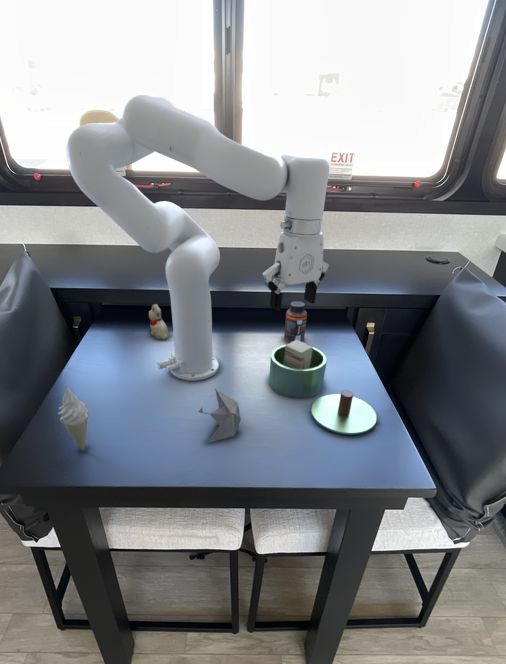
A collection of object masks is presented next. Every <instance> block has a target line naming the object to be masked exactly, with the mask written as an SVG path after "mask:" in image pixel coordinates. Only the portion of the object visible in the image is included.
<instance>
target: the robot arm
mask: <svg viewBox="0 0 506 664" xmlns="http://www.w3.org/2000/svg"><path fill="white" fill-rule="evenodd" d="M153 153H156V154H157V153H158V154H160V155H163V156H165V157H167V158H170V159H172V160H174V161H177V162H178V163H181V164H183V165H186V166H188V167H190V168H192V169H195V170H196V171H197V172H198V173H200V174H201V175H203V176H206V177H207V178H209V179H210V180H212V181H214V182H215V183H217V184H219V185H220V186H222V187H225V188H226V189H229V190H231V191H234V192H236V193H238V194H241V195H243V196H245V197H248V198H251V199H252V200H253V199H254V200H257V201H269V200H272V199H273V198H275V197H277V196H278V195H279V194H286V201H285V209H284V220H283V221H280V224H279V226H280V229H282V231H281V232H280V235H279V238H278V242H277V245H276V251H275V257H274V262H273V263H274V264H273V265H272V266H270V267H269V268H267V269H266V270H264V271H263V272H262V274H261V275H262V279H263V281H264V285H265V286H266V287H267V288H268V290H269V291H270V298H269V307H270V308H271V309H273V310H275V311H277V312H280V311H281V310H282V304H283V303H282V301H283V293H282V290H283V289H284V288H285V286H295V285H300V284H305V287H304V295H303V296H304V297H303V300H304V301H306V302H308V303H310V304H312V305H313V304H315V303H316V297H317V291H318V287H319V286H321V282H322V280H323V279H324V278H325V276H326V273H327V271H328V269H329V267H330V264H329V263H328V262H326V261H324V249H325V248H324V243H325V242H324V233H323V232H321V230H322V224H323V216H324V211H325V210H324V209H325V203H326V196H327V190H328V184H329V183H328V182H329V177H330V176H329V175H330V168H331V167H330V166H331V165H330V162H329V160H328V159H327V158H324V157H322V156H313V155H299V156H296V155H290V154H285V153H281V152H277V151H267V152H264V153H262V152H260V151H257V150H254V149H252V148H251V147H248V146H246V145H243V144H241V143H239V142H237V141H234V140H233V139H231V138H228V137H227V136H226V135H224V134H223V133H221V132H220V131H219V130H218V128H217V127H216V126H215V124H214V123H212V122H210V121H209V120H207V119H204V118H202V117H199V116H197V115H195V114H193V113H190V112H188V111H185V110H183V109H181V108H178V107H176V106H175V105H174V104H173V103H172V102H171V101H170V100H168V99H167V98H165V97H162V96H157V95H151V94H139V95H136V96H133V97H131V98H130V99H129V100H127V103H126V104H125V106H124V108H123V111H122V117H121V118H119V119H117V120H115V121H113V122H94V123H93V122H92V123H86V124H83V125H80V126H78V127H77V128H76V129H74V130H73V131H72V132H71V134H70V135H69V137H68V140H67V144H66V160H67V165H68V169H69V172H70V174H71V176H72V178H73V181H74V182H75V184H76V185H77V186H78V188H79V189H80V190H81V192H82V193H83V194H84V195H85V196H86V197H87V198H88V199H89V200H90V201H92V202H93V204H95V205H96V206H97V207H98V208H99V209H101V210H102V211H103V212H104V213H105V214H106V215H107V216H108V217H109V218H110V219H111V220H112V221H113V222H114V223H115V224H117V226H119V227H120V229H121V230H123V231H124V233H126V234H127V235H128V236H129V237H130V238H131V239H132V240H133V241H135V242H136V244H137V245H139V246H140V247H141V248H142V249H143V250H144V251H146V252H148V253H152V254H158V253H161V252H163V251H165V250H167V249H169V250H170V251H171V253H169V256H168V257H167V260H166V262H165V269H164V271H165V272H164V273H165V279H166V283H167V287H168V291H169V298H170V308H171V318H172V331H173V346H174V352H171V353H170V355H171V357H168V358H167V359H165V360H161V361H160V360H159V361H157V362H156V365H157V368H158V370H162V369H165V370H166V372H170V373H171V374H172V375H173V376H174V377H176V378H178V379H180V380H183V381H202V380H205V379H210V378H211V377H213V376H214V375H216V373H218V371H219V367H220V365H219V361H218V360H217V359H216V357H214V356H213V314H212V313H213V312H212V298H211V297H212V295H211V290H210V283H209V282H210V277H211V276H212V273H214V272H215V271H216V269H217V268H218V266H219V264H220V260H221V252H220V249H219V246H218V245H217V242H215V240H214V239H213V238H212V237H211V236H210V234H209V233H208V232H206V230H204V229H203V227H201V225H200V224H198V222H196V221H195V220H194V219H193V218H192V217H191V216H190V215H189V214H188V213H187V212H186V211H185V210H184V209H183V208H182V207H180V206H179V205H177V204H175V203H174V202H171V201H167V200H164V201H161V200H160V201H157V202H153V201H151V200H150V199H149V198H148V197H147V196H146V195H144V193H143V192H141V190H139V188H138V187H137V186H136V185H134V184H133V182H131V181H129V180H128V179H126V178H125V177H124V176H122V175H121V174H119V173H118V171H116V169H121V168H125V167H129V166H130V165H133V164H134V163H137V162H138V161H140V160H141V159H144V158H145V157H147V156H149V155H151V154H153Z"/></svg>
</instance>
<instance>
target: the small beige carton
mask: <svg viewBox="0 0 506 664" xmlns="http://www.w3.org/2000/svg"><path fill="white" fill-rule="evenodd" d="M285 345H286V347H285V356H284V366H286V367H289V368H294V369H309V368H310V362H311V355H312V348H313V347H314V346H312V345H310V344H308V343H306V342H304V341H302V342H301V341H299V340H295V341H292V342H287V343H286V344H285Z"/></svg>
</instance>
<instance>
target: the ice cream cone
mask: <svg viewBox="0 0 506 664" xmlns="http://www.w3.org/2000/svg"><path fill="white" fill-rule="evenodd" d="M61 399H62V401H61V402H62V405H61V406H60V407H58V410H60V411H59V412H58V413H57V414H58V415H59V416H61V417H60V418H59V421H60V423H61V424H62V425H63V427H64V428H65V429H66V431H67V432H68V433H69V435H70V436H71V438H72V440H74V442H75V443H76V445H77V446H78V448H79V449H80V450H81V451H82V452H84V451H85V446H86V439H87V432H88V425H89V424H88V423H89V417H90V413H89V412H88V410H87V405H86V404H85V403H84V402H83V401H82V400H79V399H78V396H77V395H76V394H74V393H73V392H72V391H71V390H70V389H69V387H68V386H65V390H64V394H63V396H62V398H61Z"/></svg>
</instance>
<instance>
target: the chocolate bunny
mask: <svg viewBox="0 0 506 664" xmlns="http://www.w3.org/2000/svg"><path fill="white" fill-rule="evenodd" d="M148 318H149V320H150V322H149V326H150V329H151V336H152V337H154V338H155V339H156V340H161V341H166V340H168V338H169V336H170V334H169V329H168V326H167V324H166V322H164V320H163V317H162V309H161V308H160V307H159V305H158V303H154V304H152V306H151V309H150V310H149V311H148Z"/></svg>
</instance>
